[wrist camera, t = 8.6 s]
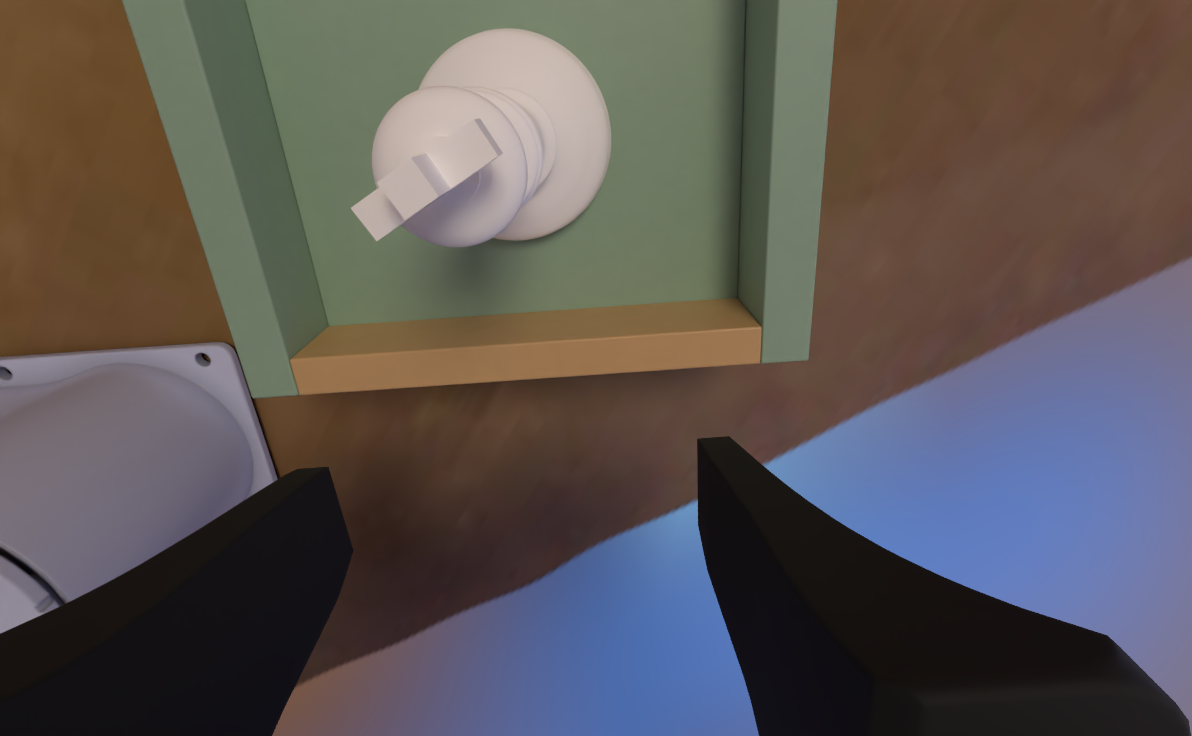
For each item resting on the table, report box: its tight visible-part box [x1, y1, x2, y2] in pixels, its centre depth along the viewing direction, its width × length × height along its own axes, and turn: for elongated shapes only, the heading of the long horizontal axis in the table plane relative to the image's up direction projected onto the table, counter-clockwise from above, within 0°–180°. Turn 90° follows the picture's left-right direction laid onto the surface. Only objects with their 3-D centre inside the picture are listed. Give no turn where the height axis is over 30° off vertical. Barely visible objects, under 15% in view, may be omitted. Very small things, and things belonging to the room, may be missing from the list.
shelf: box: [122, 0, 837, 398], centre depth 16 cm, size 14×10×6 cm
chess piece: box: [351, 28, 611, 247], centre depth 11 cm, size 5×5×10 cm
